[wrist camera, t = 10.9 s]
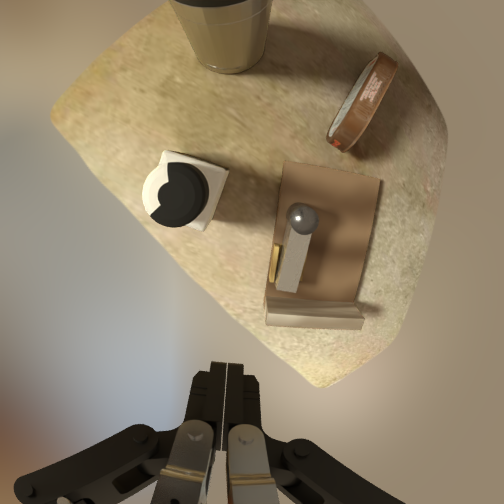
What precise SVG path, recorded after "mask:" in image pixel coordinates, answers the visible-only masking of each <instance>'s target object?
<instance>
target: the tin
mask: <svg viewBox="0 0 504 504" xmlns="http://www.w3.org/2000/svg"><path fill="white" fill-rule="evenodd" d="M397 68H398V62H397V61H394V60H393V59H391V58H390V57H389V56H387V55H386V54H384V53H382V52H379V53H378V55H377V56H376V57H375V58H374V59H373V60H371V61H370V62H369V63H368V64H367V66H366V67H365V68H364V70H363V71H362V73H361V74H360V76H359V77H358V79H357V81H356V82H355V84H354V86H353V87H352V89H351V91H350V93H349V94H348V96H347V97H346V99H345V101H344V103H343V104H342V106H341V108H340V110H339V111H338V113H337V115H336V117H335V119H334V121H333V122H332V124H331V126H330V128H329V131H328V133H327V136H326V140H327V142H328V143H330V144H331V145H333V146H334V147H336V148H338V149H339V150H340V151H341V152H342V153H344V152H346V151H348V150H349V149H350V148H351V147H352V146H353V145H354V144H355V143H356V142H357V140H358V139H359V138H360V136H361V135H362V134H363V132H364V131H365V129H366V128H367V126H368V125H369V123H370V121H371V119H372V117H373V116H374V114H375V112H376V110H377V108H378V106H379V104H380V102H381V101H382V99H383V97H384V95H385V93H386V91H387V89H388V87H389V85H390V83H391V81H392V79H393V78H394V76H395V74H396V71H397Z"/></svg>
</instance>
